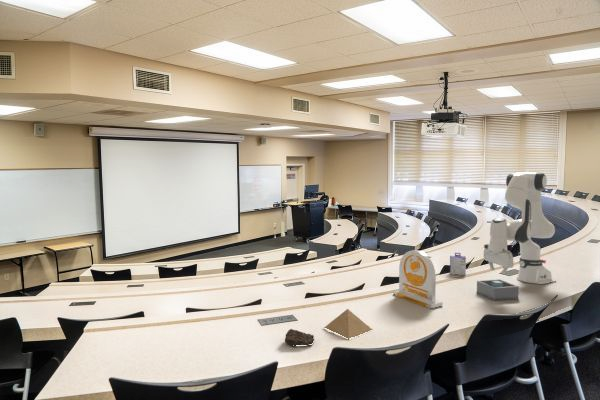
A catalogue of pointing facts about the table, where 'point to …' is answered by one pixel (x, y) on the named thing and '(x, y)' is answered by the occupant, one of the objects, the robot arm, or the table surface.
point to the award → (417, 279)
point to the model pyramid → (348, 325)
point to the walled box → (497, 290)
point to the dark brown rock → (298, 338)
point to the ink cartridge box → (458, 264)
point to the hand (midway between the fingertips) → (497, 271)
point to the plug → (497, 284)
